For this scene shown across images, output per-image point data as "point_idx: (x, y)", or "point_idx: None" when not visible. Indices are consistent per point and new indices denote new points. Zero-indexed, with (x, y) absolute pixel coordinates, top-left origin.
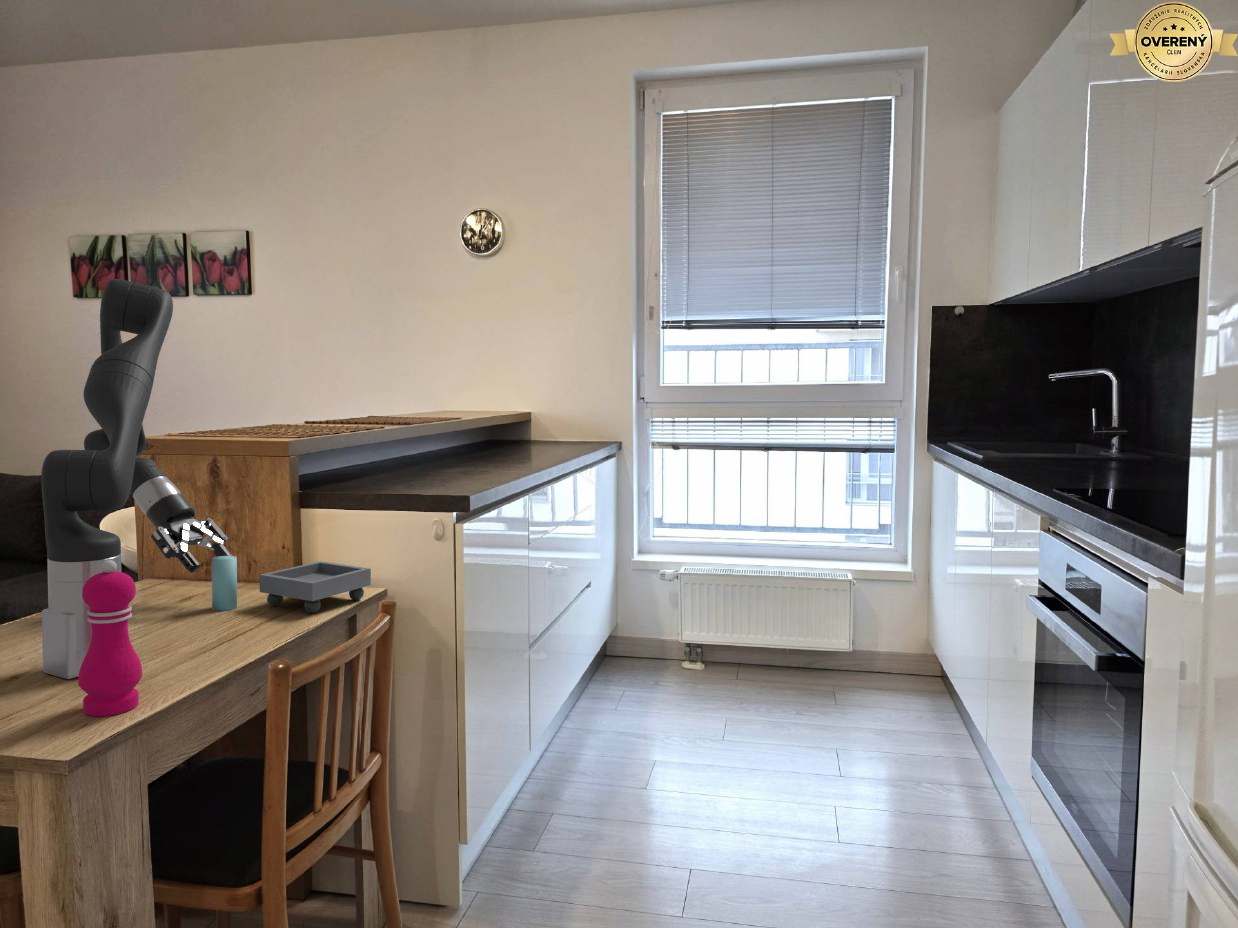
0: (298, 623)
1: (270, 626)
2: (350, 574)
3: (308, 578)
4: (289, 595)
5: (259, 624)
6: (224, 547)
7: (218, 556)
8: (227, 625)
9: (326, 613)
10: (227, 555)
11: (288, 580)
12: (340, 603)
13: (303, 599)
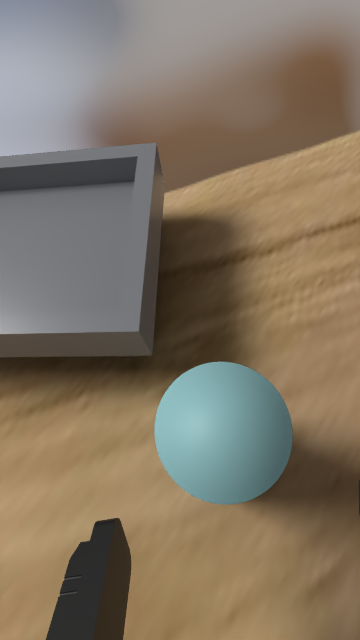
0: (223, 198)
1: (274, 220)
2: (19, 156)
3: (12, 291)
4: (159, 242)
5: (279, 247)
6: (51, 636)
7: (209, 501)
8: (334, 294)
9: None
10: (111, 538)
11: (151, 214)
12: None
13: (162, 206)
